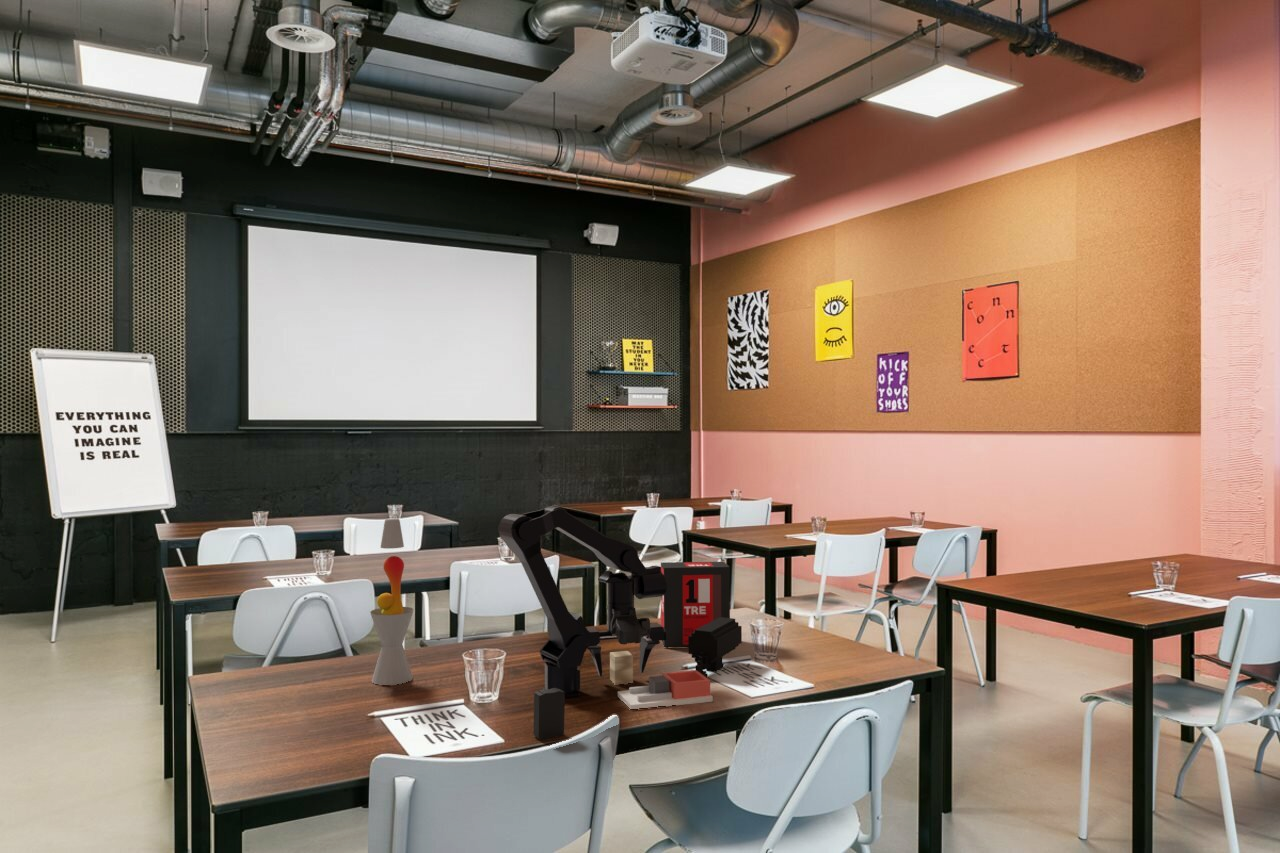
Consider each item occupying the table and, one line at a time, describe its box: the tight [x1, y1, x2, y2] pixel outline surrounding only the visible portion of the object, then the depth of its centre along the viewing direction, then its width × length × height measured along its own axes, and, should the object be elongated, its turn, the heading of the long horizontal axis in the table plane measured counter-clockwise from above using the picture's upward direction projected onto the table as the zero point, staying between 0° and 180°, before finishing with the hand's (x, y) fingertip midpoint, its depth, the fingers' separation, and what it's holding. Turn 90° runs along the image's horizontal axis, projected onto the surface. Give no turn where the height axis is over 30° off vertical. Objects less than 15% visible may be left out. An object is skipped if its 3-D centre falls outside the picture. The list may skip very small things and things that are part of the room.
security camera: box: [687, 617, 743, 679], centre depth 186 cm, size 7×18×10 cm, turn 152°
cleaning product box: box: [660, 561, 731, 648], centre depth 210 cm, size 16×9×20 cm, turn 94°
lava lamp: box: [369, 517, 415, 686], centre depth 179 cm, size 9×9×35 cm
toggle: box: [648, 675, 670, 694], centre depth 165 cm, size 3×4×3 cm
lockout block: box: [609, 650, 634, 686], centre depth 177 cm, size 4×4×6 cm
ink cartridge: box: [532, 688, 566, 741], centre depth 145 cm, size 5×2×8 cm, turn 121°
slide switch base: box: [617, 669, 714, 710], centre depth 165 cm, size 17×9×4 cm, turn 107°
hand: (621, 674), depth 177 cm, fingers open, 9 cm apart
